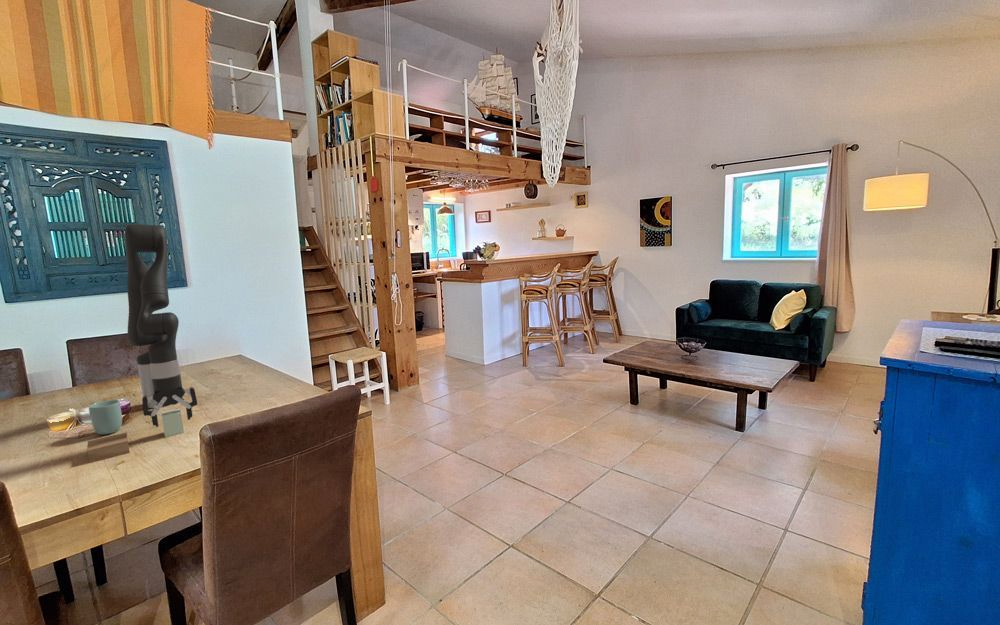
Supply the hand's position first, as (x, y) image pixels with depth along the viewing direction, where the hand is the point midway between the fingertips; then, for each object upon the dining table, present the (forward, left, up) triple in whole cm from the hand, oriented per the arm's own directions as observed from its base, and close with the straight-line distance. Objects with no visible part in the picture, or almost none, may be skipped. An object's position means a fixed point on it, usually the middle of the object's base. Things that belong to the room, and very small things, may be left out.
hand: (173, 422), depth 148 cm
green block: (0, 0, -4) cm, 4 cm away
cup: (-16, -17, -4) cm, 24 cm away
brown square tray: (+5, -16, -4) cm, 17 cm away
